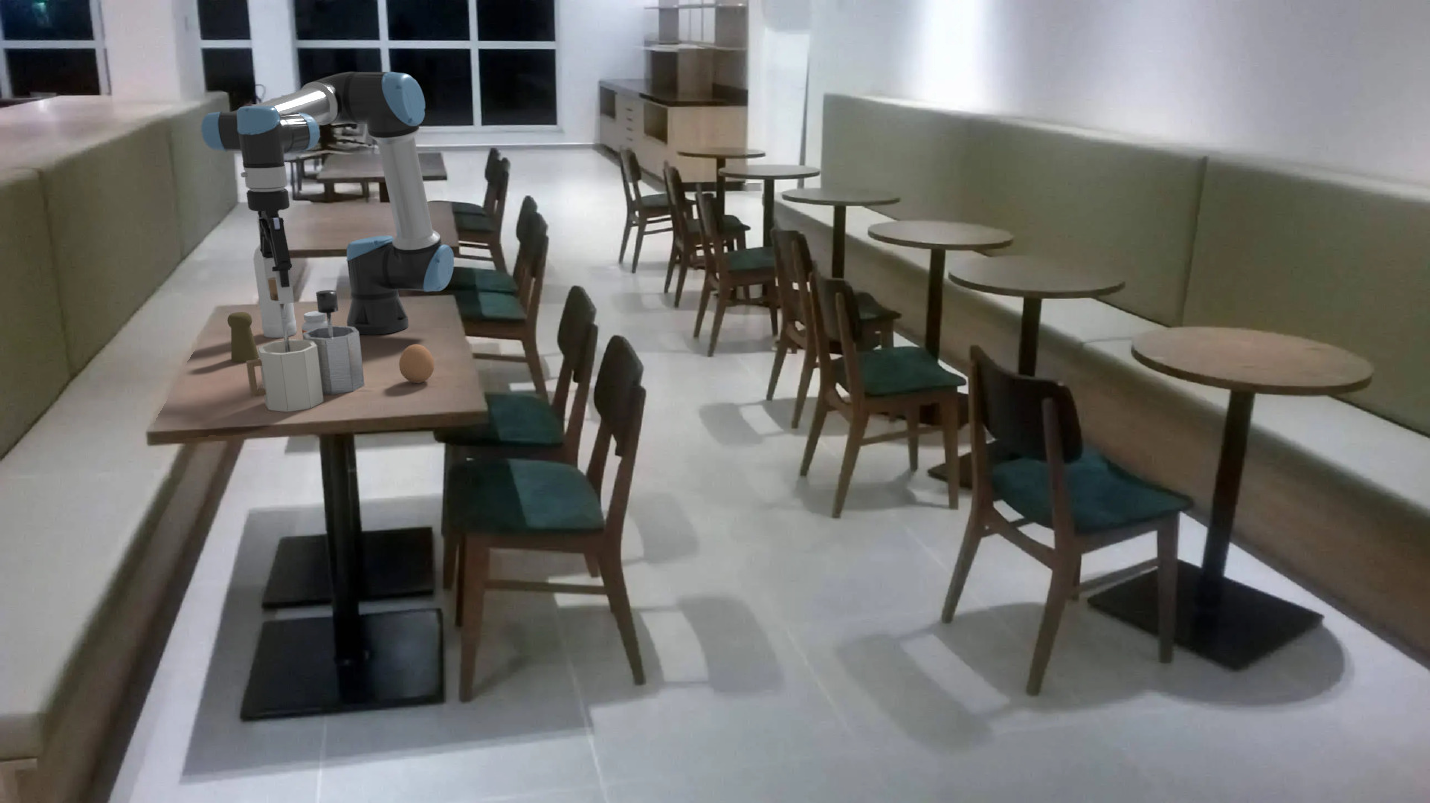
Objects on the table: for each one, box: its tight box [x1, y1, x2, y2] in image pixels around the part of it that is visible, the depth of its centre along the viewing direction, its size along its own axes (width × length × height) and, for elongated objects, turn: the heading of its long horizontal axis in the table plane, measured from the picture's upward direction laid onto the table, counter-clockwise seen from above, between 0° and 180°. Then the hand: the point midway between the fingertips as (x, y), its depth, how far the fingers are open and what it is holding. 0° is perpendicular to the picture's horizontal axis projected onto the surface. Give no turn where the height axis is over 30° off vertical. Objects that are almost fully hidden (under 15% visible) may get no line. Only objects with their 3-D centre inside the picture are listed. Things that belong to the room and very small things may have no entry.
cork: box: [226, 311, 259, 363], centre depth 255 cm, size 6×6×11 cm
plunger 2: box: [315, 289, 339, 338], centre depth 233 cm, size 7×7×18 cm
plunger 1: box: [268, 277, 290, 353], centre depth 221 cm, size 7×7×18 cm
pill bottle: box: [301, 310, 328, 334], centre depth 255 cm, size 6×6×11 cm
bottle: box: [252, 215, 297, 339], centre depth 273 cm, size 8×8×30 cm
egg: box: [398, 343, 435, 384], centre depth 238 cm, size 7×7×8 cm
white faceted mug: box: [245, 338, 324, 413], centre depth 224 cm, size 13×11×12 cm
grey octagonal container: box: [302, 325, 365, 395], centre depth 235 cm, size 13×11×12 cm
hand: (280, 296), depth 219 cm, fingers open, 13 cm apart
